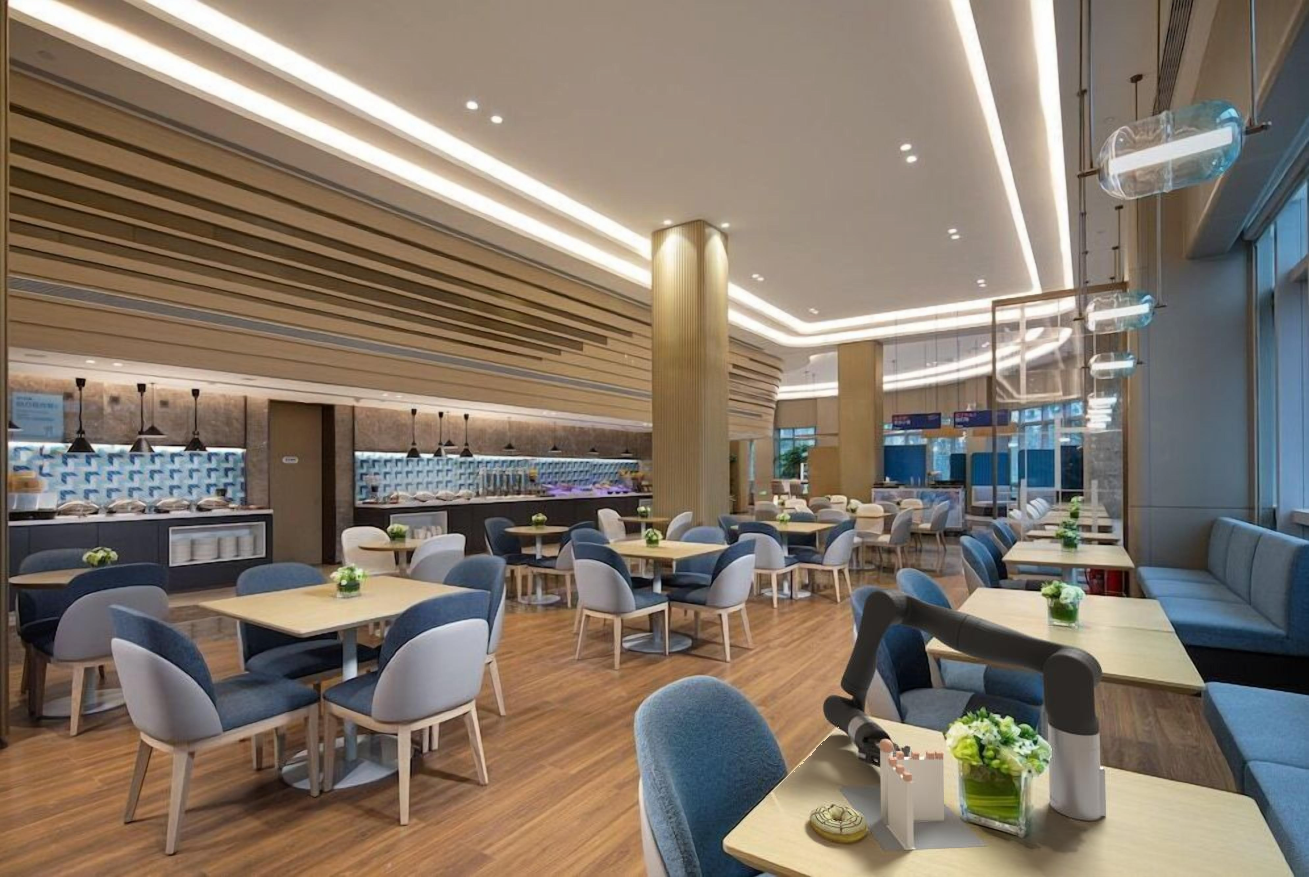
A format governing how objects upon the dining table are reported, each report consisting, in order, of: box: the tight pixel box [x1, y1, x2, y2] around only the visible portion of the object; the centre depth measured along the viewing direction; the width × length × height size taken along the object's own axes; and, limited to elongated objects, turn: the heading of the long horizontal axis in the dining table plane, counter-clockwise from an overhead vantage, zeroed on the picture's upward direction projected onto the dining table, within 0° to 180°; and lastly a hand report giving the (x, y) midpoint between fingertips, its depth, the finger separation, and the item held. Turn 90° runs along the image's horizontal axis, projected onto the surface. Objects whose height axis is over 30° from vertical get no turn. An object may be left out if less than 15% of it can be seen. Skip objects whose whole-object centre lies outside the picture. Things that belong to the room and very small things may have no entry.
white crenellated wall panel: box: [894, 750, 945, 820], centre depth 132 cm, size 10×1×13 cm, turn 91°
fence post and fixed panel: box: [879, 739, 914, 848], centre depth 128 cm, size 3×11×16 cm, turn 5°
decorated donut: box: [809, 803, 868, 844], centre depth 129 cm, size 10×11×4 cm
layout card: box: [838, 784, 987, 852], centre depth 134 cm, size 20×24×1 cm
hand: (902, 770), depth 140 cm, fingers closed
